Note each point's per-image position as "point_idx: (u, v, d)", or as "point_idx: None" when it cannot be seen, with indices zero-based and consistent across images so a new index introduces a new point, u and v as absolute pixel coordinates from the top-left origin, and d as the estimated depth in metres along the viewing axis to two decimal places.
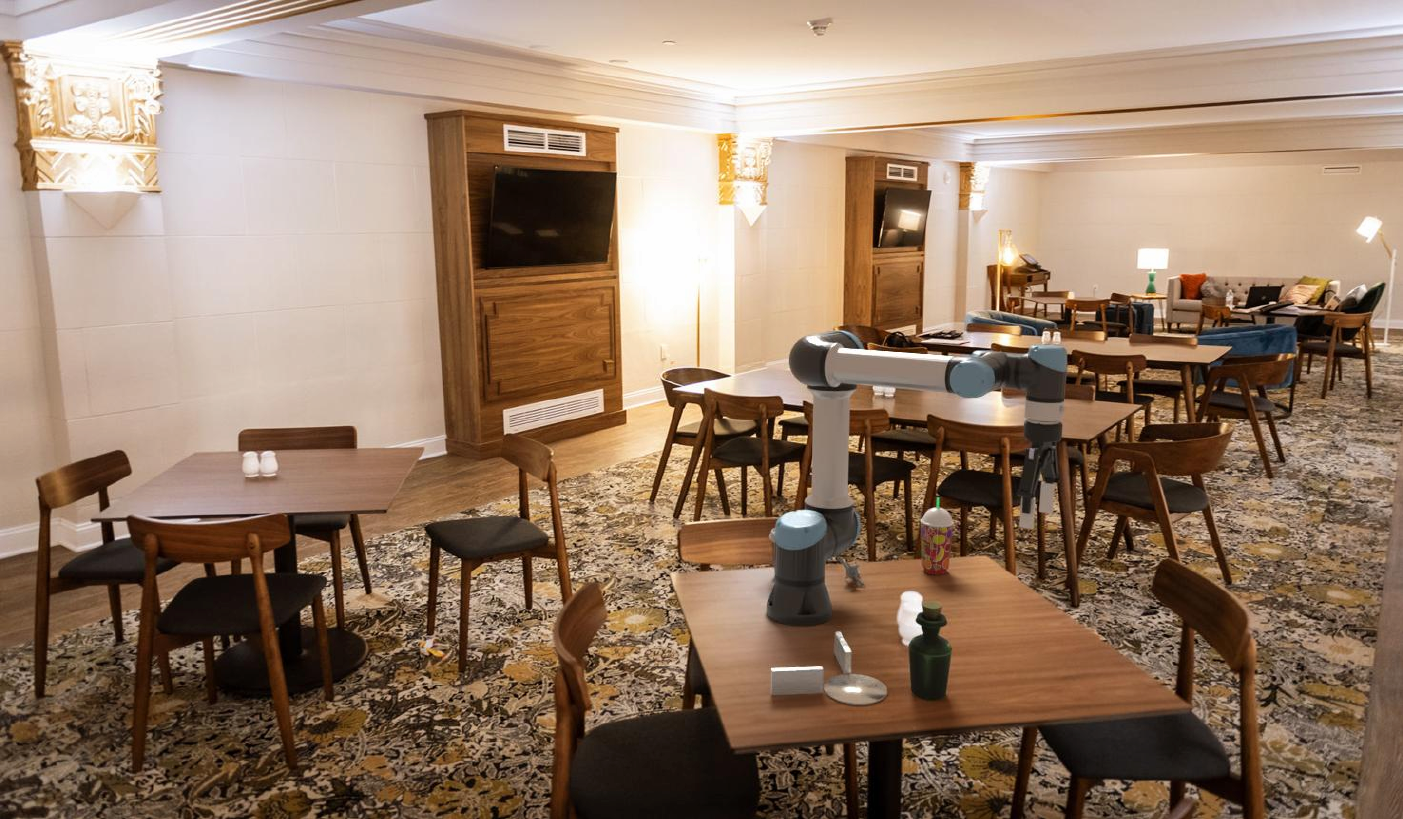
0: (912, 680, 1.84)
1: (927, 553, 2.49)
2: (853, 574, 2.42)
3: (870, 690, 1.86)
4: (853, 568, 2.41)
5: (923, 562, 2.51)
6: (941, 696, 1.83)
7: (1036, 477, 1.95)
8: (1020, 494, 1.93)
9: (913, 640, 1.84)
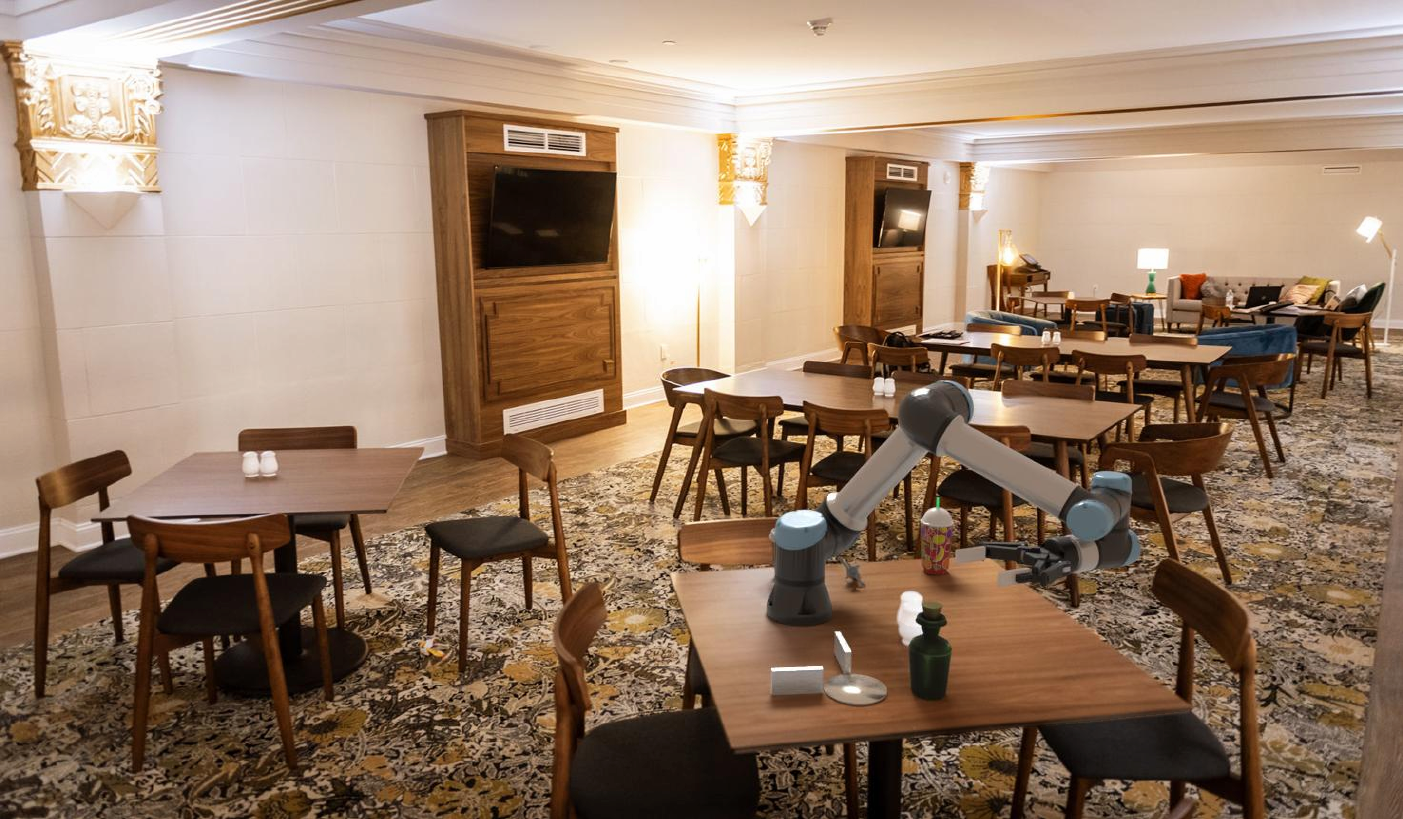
0: (912, 680, 1.84)
1: (927, 553, 2.49)
2: (854, 574, 2.42)
3: (870, 690, 1.86)
4: (854, 568, 2.41)
5: (923, 562, 2.51)
6: (941, 696, 1.83)
7: None
8: (1043, 576, 1.78)
9: (913, 640, 1.84)
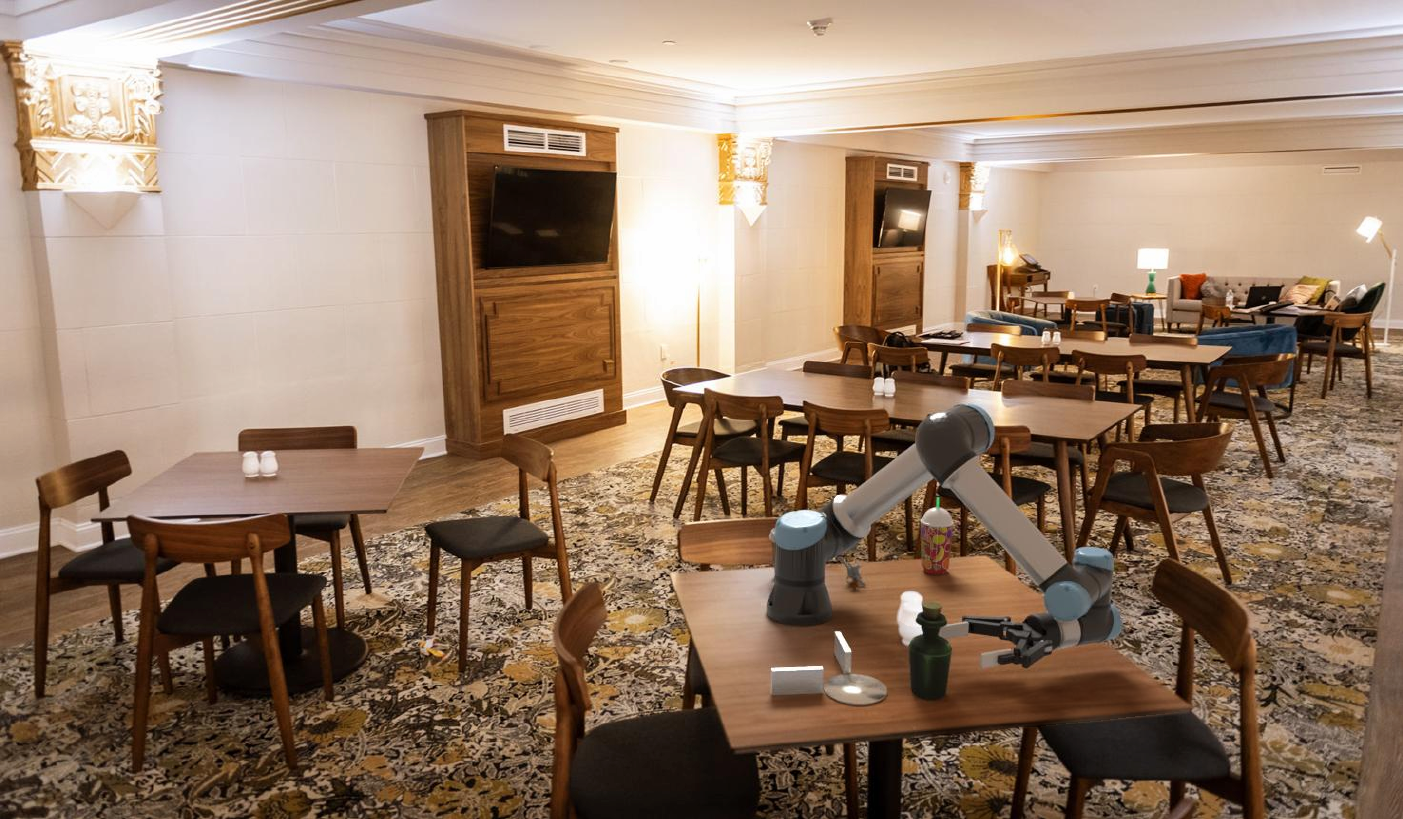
0: (912, 680, 1.84)
1: (927, 553, 2.49)
2: (854, 574, 2.42)
3: (870, 690, 1.86)
4: (854, 568, 2.41)
5: (923, 562, 2.51)
6: (941, 696, 1.83)
7: None
8: (1025, 658, 1.79)
9: (913, 640, 1.84)
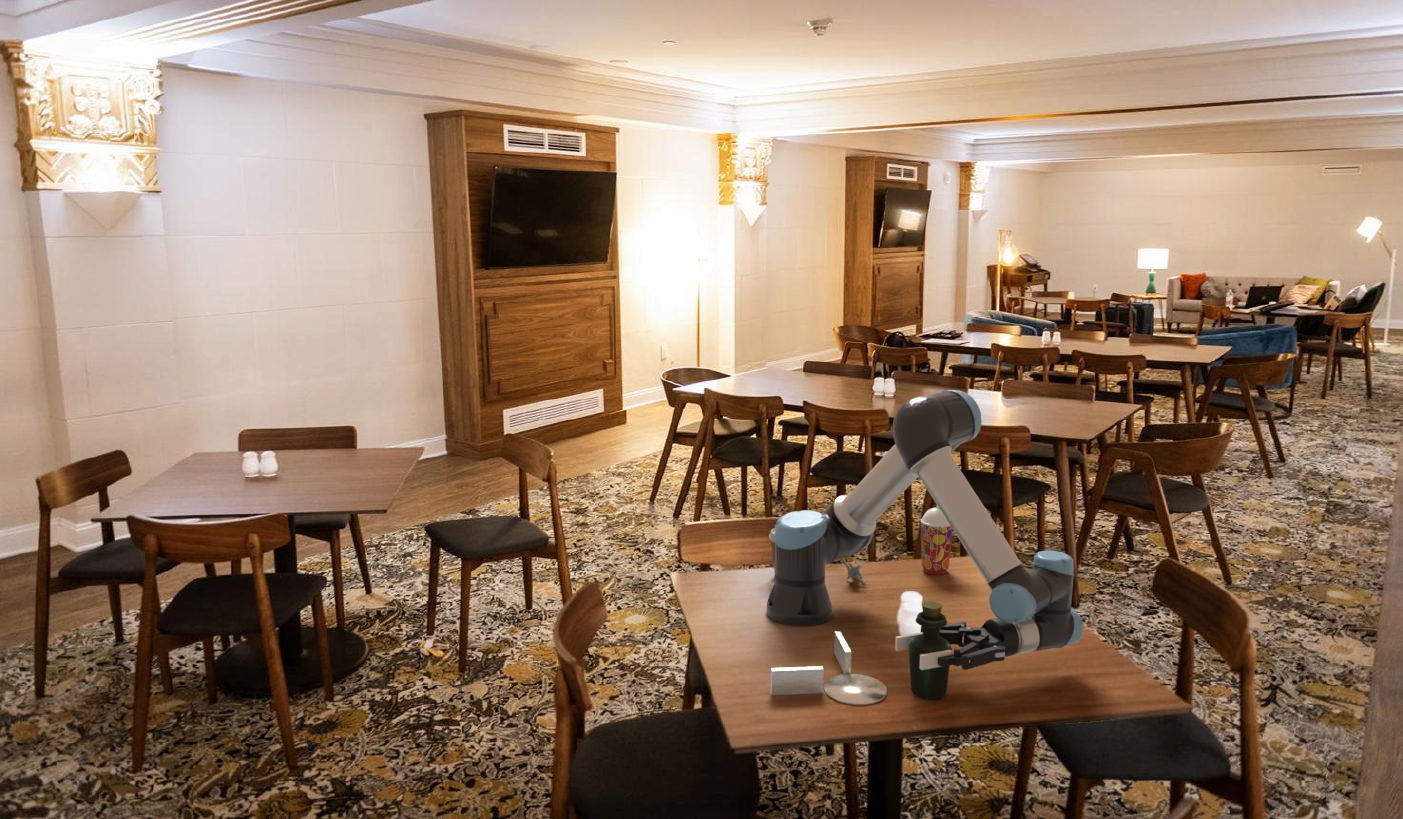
0: (912, 680, 1.84)
1: (927, 553, 2.49)
2: (855, 574, 2.42)
3: (870, 690, 1.86)
4: (855, 568, 2.41)
5: (923, 562, 2.51)
6: (941, 696, 1.83)
7: None
8: (965, 659, 1.78)
9: (913, 640, 1.84)
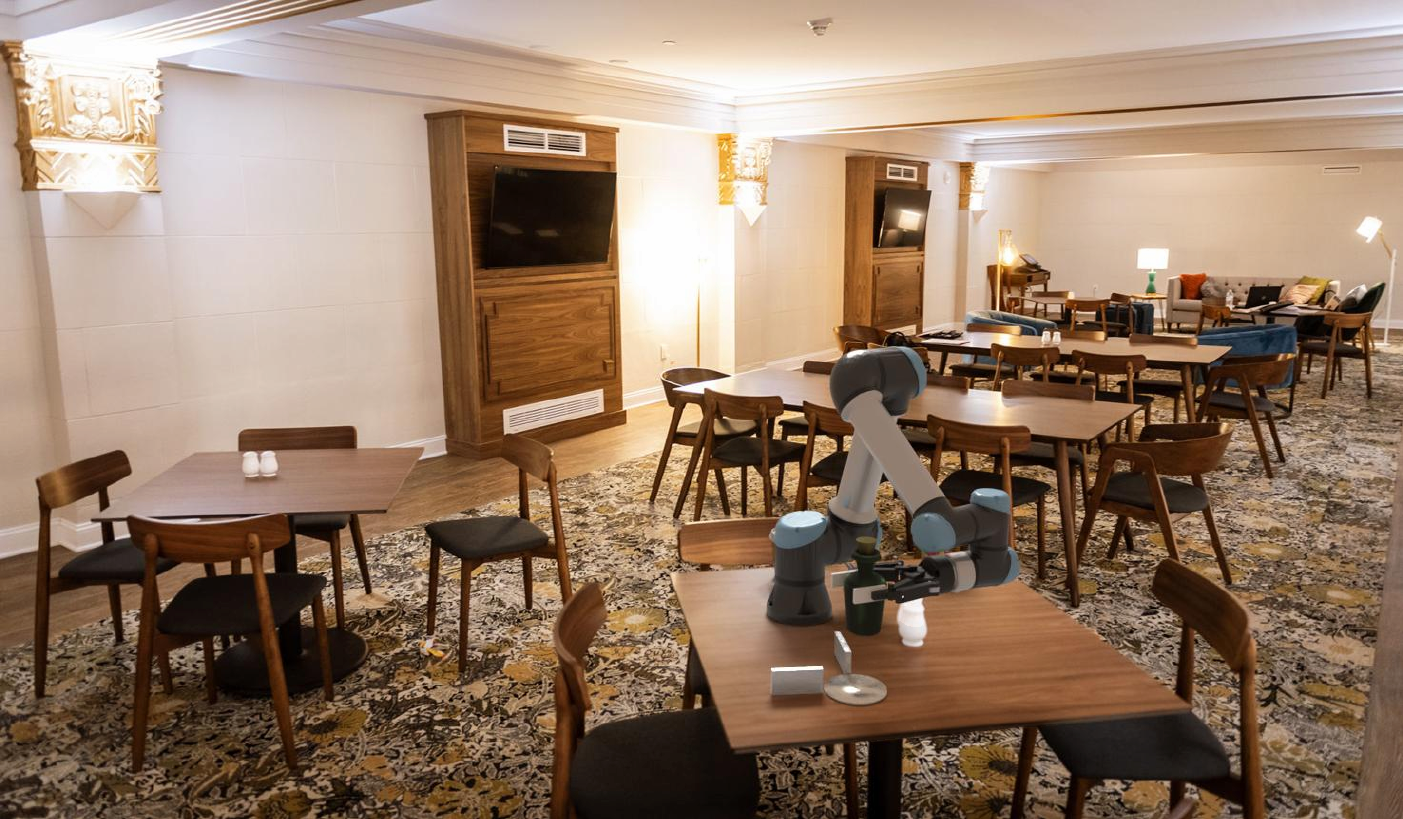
0: (847, 616, 1.83)
1: (927, 553, 2.49)
2: None
3: (870, 690, 1.86)
4: (856, 568, 2.41)
5: None
6: (876, 632, 1.82)
7: None
8: (898, 593, 1.77)
9: (848, 576, 1.83)
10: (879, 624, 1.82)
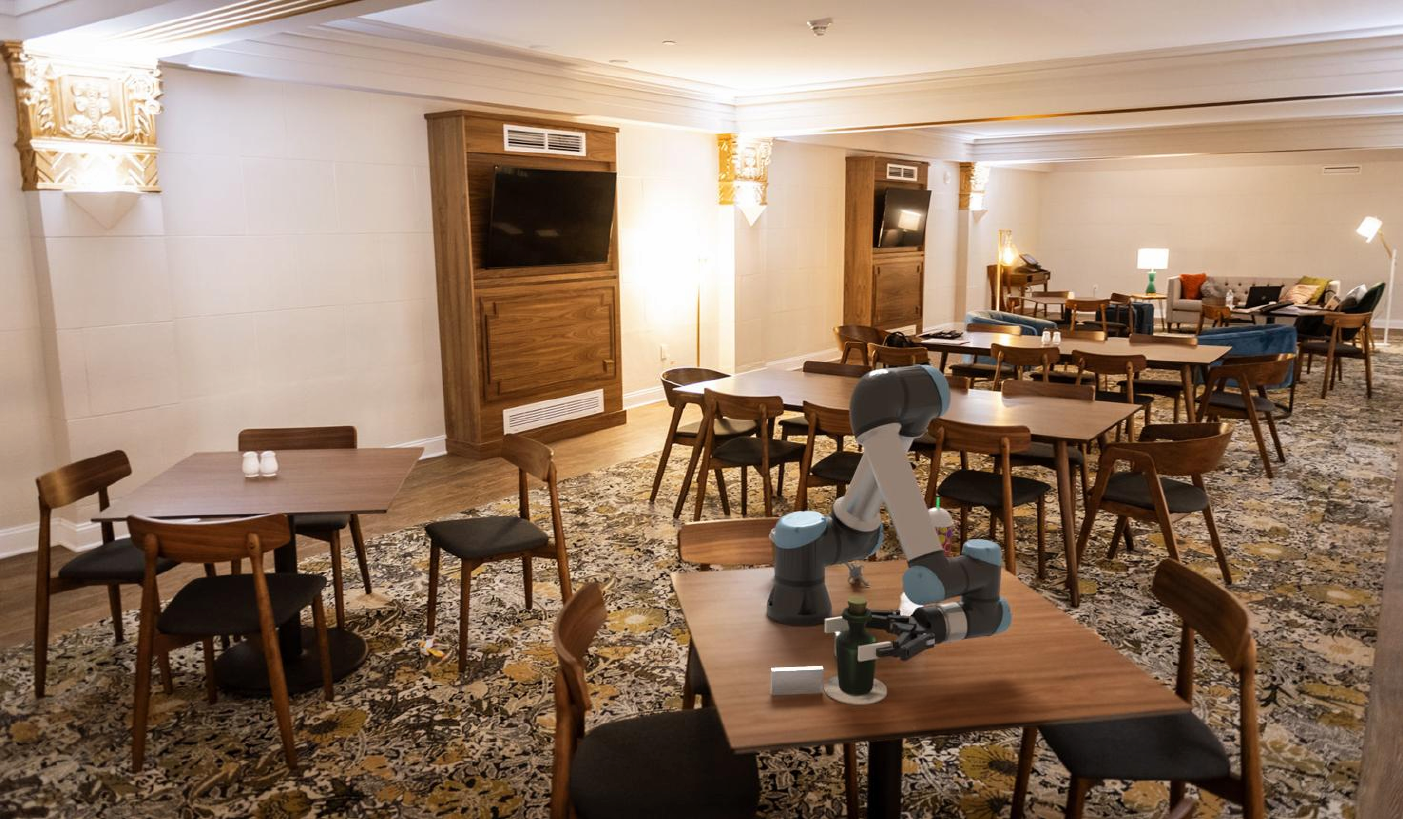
0: (838, 675, 1.86)
1: None
2: (857, 574, 2.42)
3: None
4: (858, 568, 2.40)
5: None
6: (867, 690, 1.84)
7: None
8: (903, 651, 1.77)
9: (839, 635, 1.85)
10: (870, 683, 1.84)
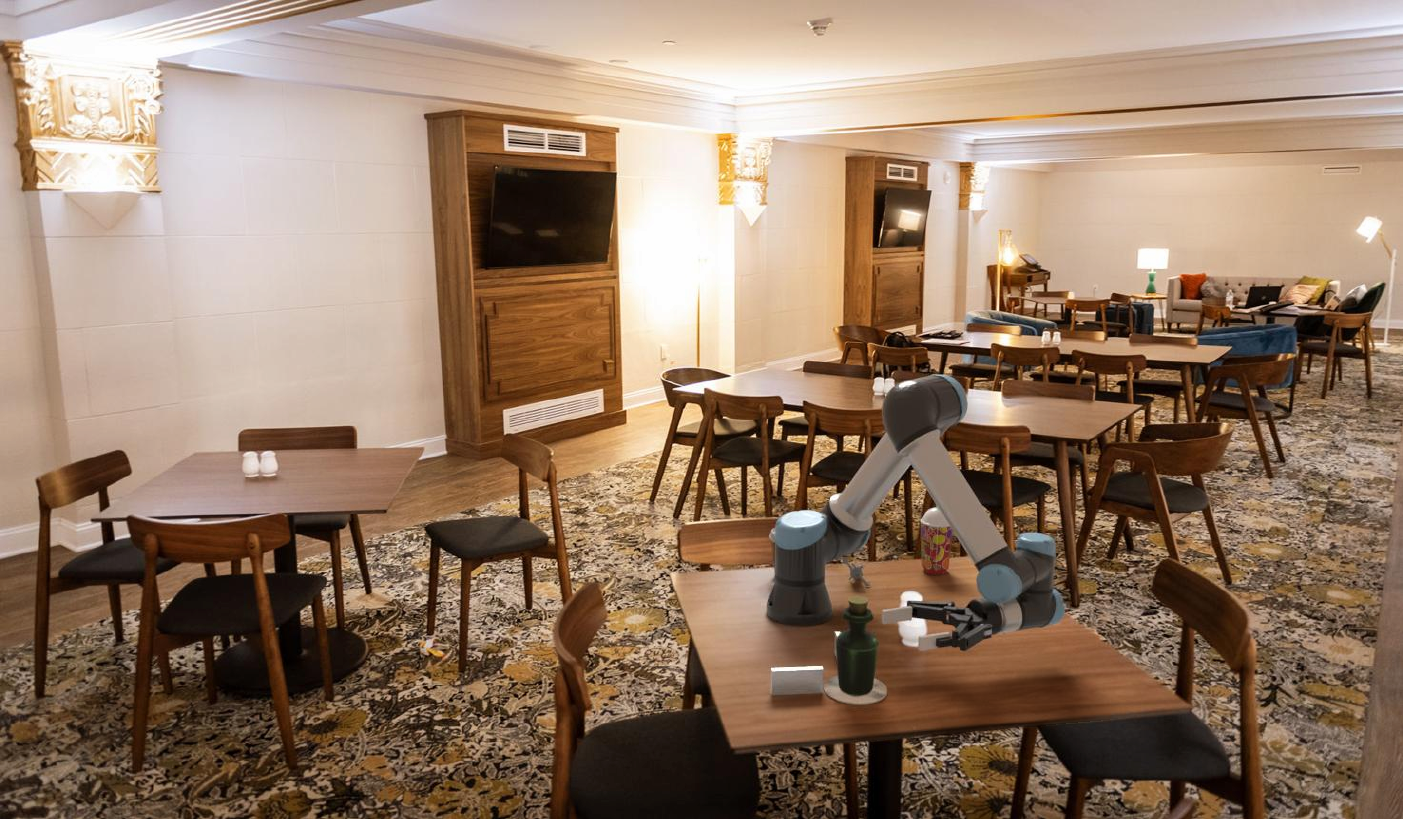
0: (839, 675, 1.86)
1: (927, 553, 2.49)
2: (858, 575, 2.42)
3: None
4: (859, 569, 2.40)
5: (923, 562, 2.51)
6: (867, 691, 1.84)
7: None
8: (963, 641, 1.81)
9: (840, 635, 1.85)
10: (871, 683, 1.84)
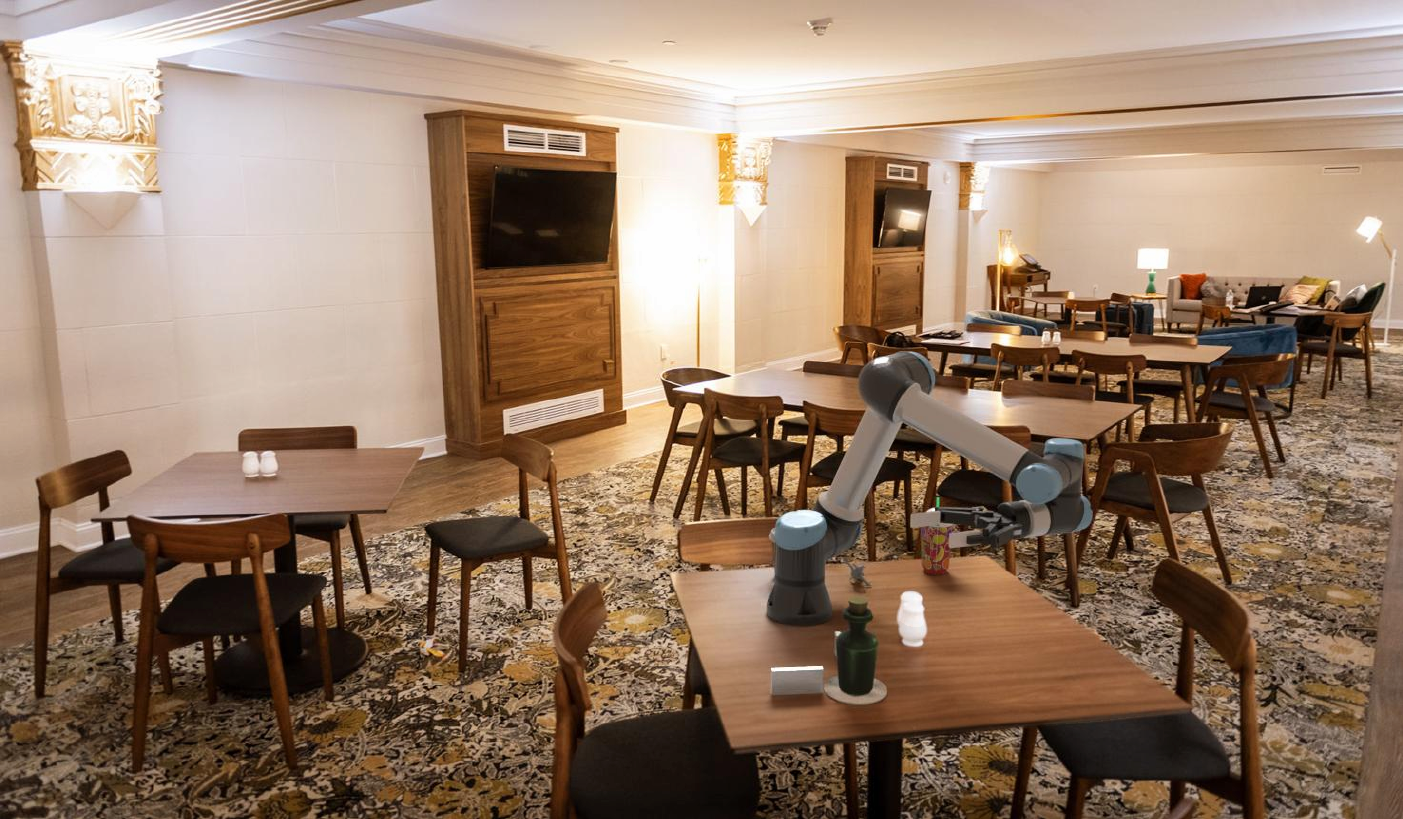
0: (839, 675, 1.86)
1: (927, 553, 2.49)
2: (859, 575, 2.42)
3: None
4: (860, 569, 2.40)
5: (923, 562, 2.51)
6: (867, 691, 1.84)
7: None
8: (993, 537, 1.82)
9: (840, 635, 1.85)
10: (871, 683, 1.84)
